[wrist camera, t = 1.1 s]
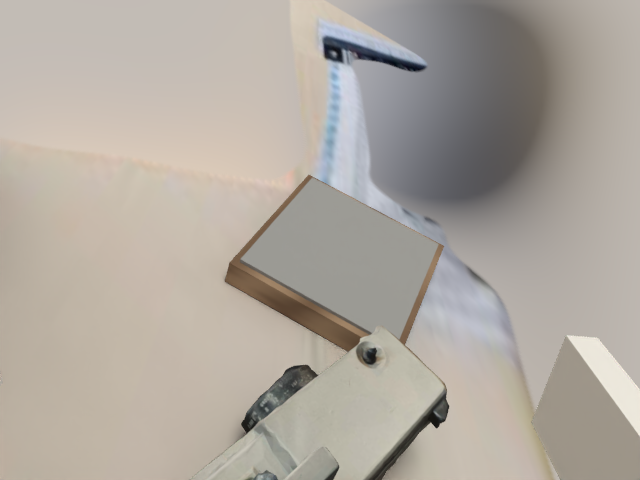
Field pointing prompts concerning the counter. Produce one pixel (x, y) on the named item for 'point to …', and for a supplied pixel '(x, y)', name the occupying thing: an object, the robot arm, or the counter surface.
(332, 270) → the walnut stand
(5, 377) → the counter surface
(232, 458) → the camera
